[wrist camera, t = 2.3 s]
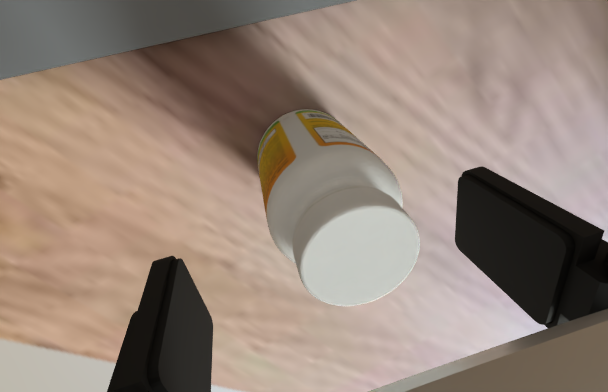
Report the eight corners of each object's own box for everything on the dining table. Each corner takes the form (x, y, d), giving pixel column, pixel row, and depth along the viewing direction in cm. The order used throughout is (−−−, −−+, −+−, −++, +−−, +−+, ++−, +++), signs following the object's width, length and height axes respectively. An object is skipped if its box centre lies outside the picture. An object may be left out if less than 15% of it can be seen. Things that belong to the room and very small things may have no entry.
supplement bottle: (280, 210, 20) (313, 345, 11) (239, 132, 17) (243, 233, 9) (359, 173, 20) (453, 282, 11) (331, 90, 17) (425, 150, 9)
